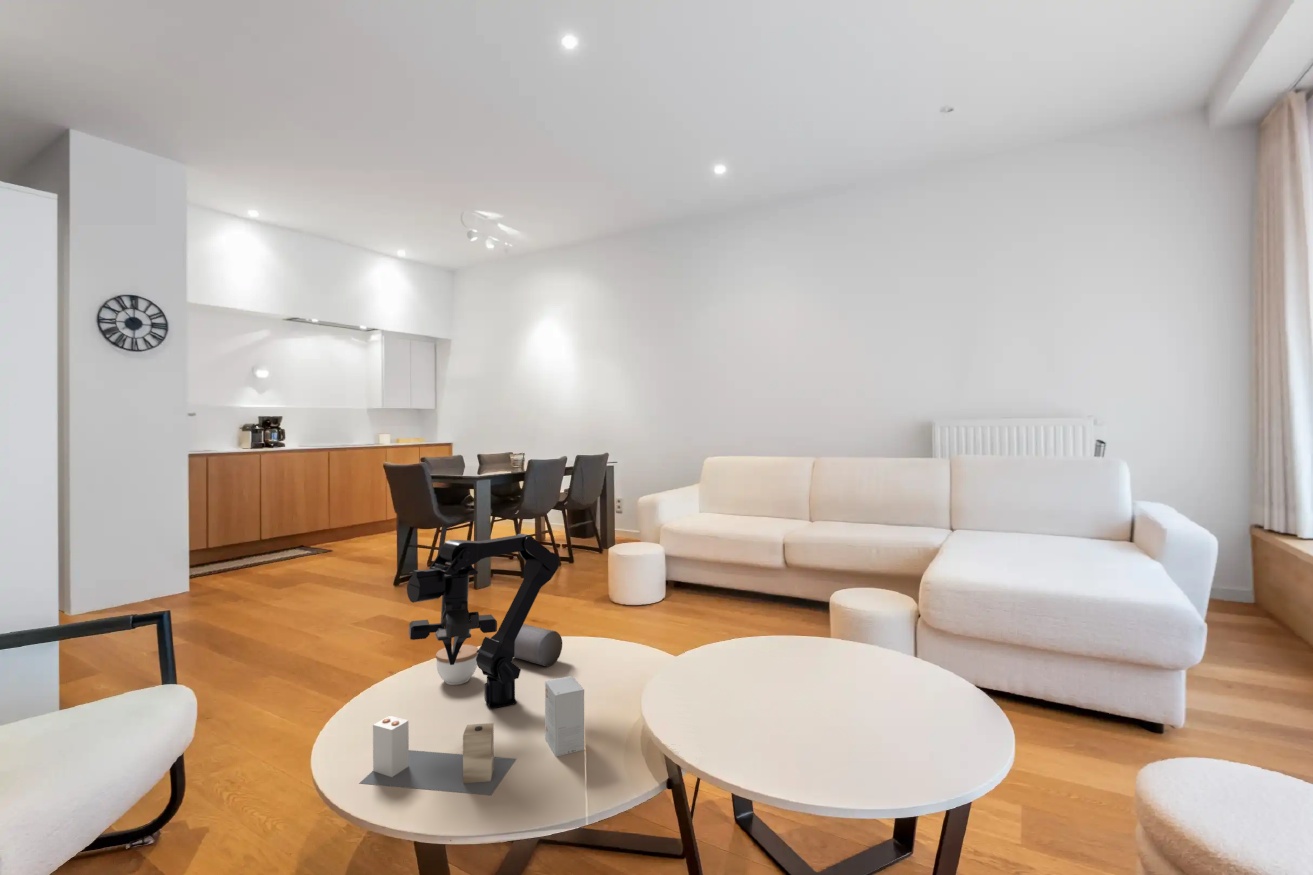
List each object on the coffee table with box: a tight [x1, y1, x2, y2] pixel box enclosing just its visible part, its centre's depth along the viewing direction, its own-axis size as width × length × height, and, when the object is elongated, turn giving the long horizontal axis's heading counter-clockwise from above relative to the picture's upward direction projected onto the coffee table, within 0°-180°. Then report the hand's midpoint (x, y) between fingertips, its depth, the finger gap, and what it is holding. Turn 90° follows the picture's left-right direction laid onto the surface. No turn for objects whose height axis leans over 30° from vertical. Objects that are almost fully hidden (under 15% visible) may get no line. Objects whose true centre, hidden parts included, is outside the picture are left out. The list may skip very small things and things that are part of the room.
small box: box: [544, 675, 585, 757], centre depth 123 cm, size 8×6×13 cm
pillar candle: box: [513, 623, 563, 667], centre depth 170 cm, size 10×10×15 cm
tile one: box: [462, 722, 495, 783], centre depth 112 cm, size 4×5×9 cm
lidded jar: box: [435, 644, 479, 686], centre depth 157 cm, size 11×11×9 cm
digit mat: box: [358, 749, 517, 796], centre depth 114 cm, size 26×12×1 cm, turn 82°
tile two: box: [372, 715, 410, 777], centre depth 114 cm, size 4×5×9 cm
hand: (451, 664), depth 134 cm, fingers closed
